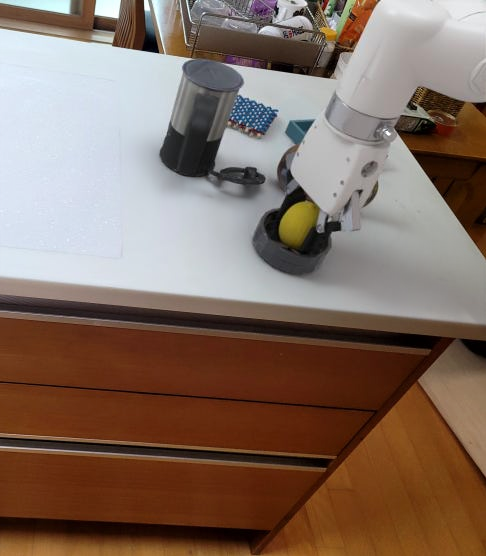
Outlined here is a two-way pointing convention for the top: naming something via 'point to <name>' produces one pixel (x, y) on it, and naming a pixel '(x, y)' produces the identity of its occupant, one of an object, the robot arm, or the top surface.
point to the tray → (299, 129)
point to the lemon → (298, 224)
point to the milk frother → (204, 121)
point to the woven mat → (251, 116)
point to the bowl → (285, 248)
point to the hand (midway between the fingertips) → (298, 232)
